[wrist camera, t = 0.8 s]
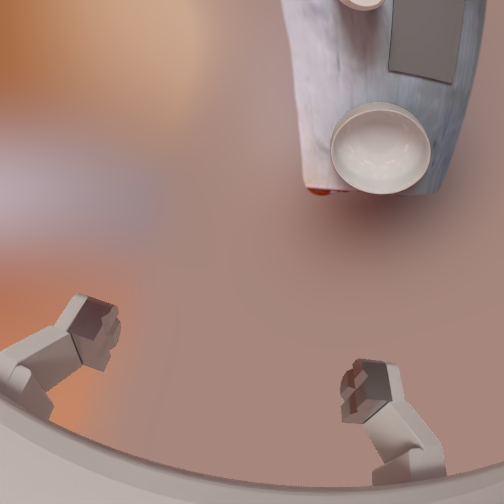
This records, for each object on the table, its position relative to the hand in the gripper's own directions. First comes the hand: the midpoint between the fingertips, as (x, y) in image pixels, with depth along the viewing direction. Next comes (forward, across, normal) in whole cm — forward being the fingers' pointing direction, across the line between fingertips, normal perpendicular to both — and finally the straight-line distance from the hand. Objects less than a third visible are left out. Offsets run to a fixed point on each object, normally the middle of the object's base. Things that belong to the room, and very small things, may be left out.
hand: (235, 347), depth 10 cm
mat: (+39, -17, -23) cm, 49 cm away
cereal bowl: (+48, -18, 0) cm, 51 cm away
